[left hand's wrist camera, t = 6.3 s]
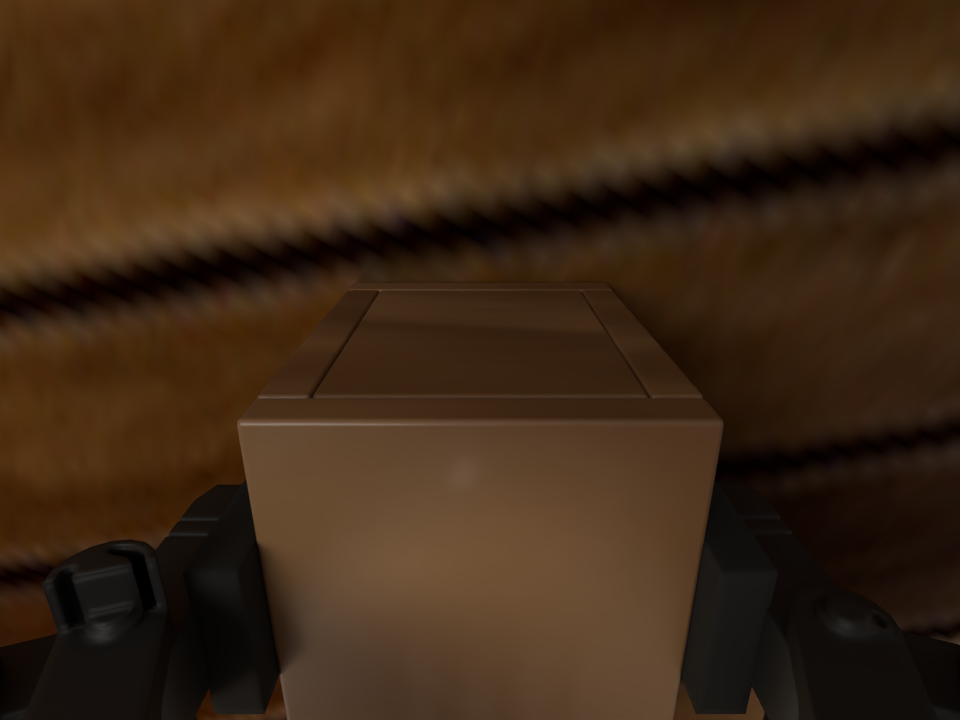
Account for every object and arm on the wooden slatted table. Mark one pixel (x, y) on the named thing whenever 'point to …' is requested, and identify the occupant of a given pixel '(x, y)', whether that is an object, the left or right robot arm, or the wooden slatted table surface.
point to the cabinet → (480, 506)
